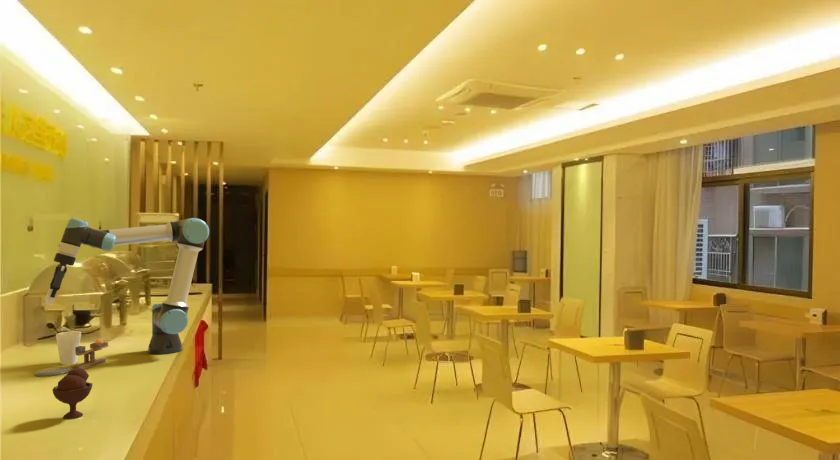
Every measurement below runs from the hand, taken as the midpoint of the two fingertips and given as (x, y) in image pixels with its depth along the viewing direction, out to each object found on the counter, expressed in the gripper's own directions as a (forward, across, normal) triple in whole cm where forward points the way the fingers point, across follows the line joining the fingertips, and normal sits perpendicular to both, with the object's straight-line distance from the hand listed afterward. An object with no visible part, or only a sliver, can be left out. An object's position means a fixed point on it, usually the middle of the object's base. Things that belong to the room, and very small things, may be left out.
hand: (48, 303), depth 248 cm
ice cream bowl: (+26, +75, +13) cm, 80 cm away
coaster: (+26, +6, +10) cm, 28 cm away
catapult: (+22, 0, +23) cm, 31 cm away
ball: (+12, -4, +24) cm, 27 cm away
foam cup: (+24, -12, +16) cm, 31 cm away
